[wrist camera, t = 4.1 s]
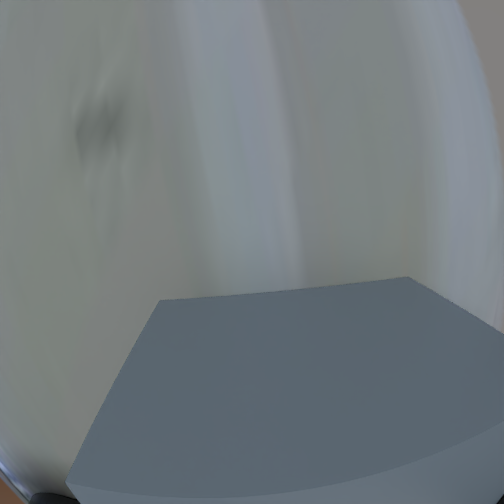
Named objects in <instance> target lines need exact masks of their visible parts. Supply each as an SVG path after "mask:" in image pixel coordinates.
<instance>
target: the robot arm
mask: <svg viewBox="0 0 504 504" xmlns="http://www.w3.org/2000/svg"><path fill="white" fill-rule="evenodd" d="M29 504H80V502H79V501H76V500H73V499H70V498H66V497H63V496H59V495H55V494H50V493H37V494H35V495H33V496H32V498H31V500H30V502H29ZM496 504H504V494H503V496H502V497H501V498H500V500H499V501H498V502H497V503H496Z"/></svg>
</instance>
